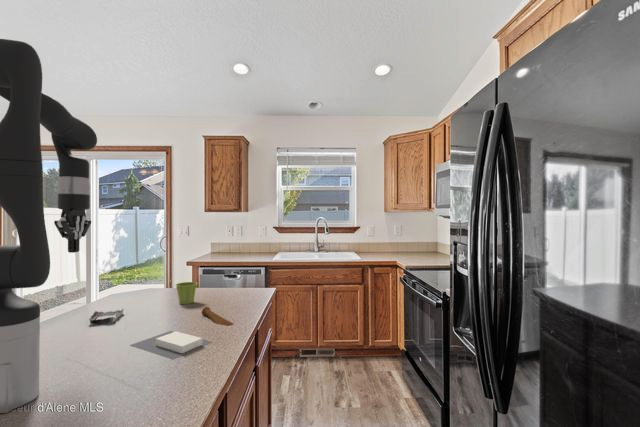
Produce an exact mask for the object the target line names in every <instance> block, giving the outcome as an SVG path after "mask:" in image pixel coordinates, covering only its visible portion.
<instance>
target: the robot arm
mask: <svg viewBox="0 0 640 427" xmlns="http://www.w3.org/2000/svg"><path fill="white" fill-rule="evenodd" d="M42 67H43V66H42V62H41V58H40V55H39V54H38V51H36V48H34V47H33V46H32V45H31V44H29V43H27V42H25V41H20V40H14V39H6V38H0V97H1V98H4V99H5V100H7V101H8V102H9V104H8V107H7V110H6V113H5V114H4V116H3V118H2V119H1V121H0V207H1V208H2V209H3V210H4V211H5V213H6V214H7V216H8V217H10V219H11V221H12V222H13V224H14V226H15V228H16V232H17V237H18V241H19V244H17V245H16V244H13V245H11V244H10V245H7V244H6V245H4V244H3V245H1V244H0V414H8V413H9V412H11V411H12V410H14V409H16V408H20V407H23V406H24V405H26V404H29V403H30V402H32V401H33V400H35V399H36V398H37V397H38V396H39V395H40V357H41V356H40V354H41V353H40V352H41V351H40V349H41V348H40V344H41V343H40V340H41V338H40V335H41V332H40V331H41V306H40V303H38V302H36V301H33V300H30V299H25V298H23V297H21V296H19V295H17V294H16V293H15V292H14V291H13V289H25V288H26V289H27V288H28V289H29V288H37V287H40V286H43V285H44V284H45V283H46V282H47V280H48V278H49V275H50V270H51V252H50V247H49V240H48V235H47V228H46V220H45V210H44V209H45V208H44V188H43V187H44V171H43V156H42V144H41V126H42V127H43V128H44V129H46V130H47V131H48V132H49V133H51V140H52V143H53V147H54V150H55V152H56V156H57V159H58V164H59V165H58V167H59V168H58V182H57V183H58V184H57V209H58V210H61V213H60V219H58V220H54V221H53V223H54V225H55V227H56V228H57V231H58V232H59V234H60V236H61V238H64V239H66V240H67V252H68V253H74V254H75V253H79V251H80V240H81V239H82V238H83V237H85V236H86V235H87V232H88V231H89V228H90V226H91V224H92V220H91V219H89V220H88V219H87V213H86V210H89V209H91V208H90V207H91V186H90V185H91V184H90V163H89V161H88V160H87V159H86V158H83V157H78V156H74V155H73V153H72V151H71V150H73V151H75V150H76V151H90V150H92V149H94V148H95V147H96V146H97V143H98V137H97V133H96V132H95V131H94V129H93V128H92V127H91V126H90V125H88V124H87V123H85V122H84V121H82V120H81V119H79V118H77V117H76V116H73V115H72V114H71V113H70V111H69V110H68V109H67V108H66V107H65V106H64V104H62V103H61V102H60V101H58V100H57V99H55V98H54V97H52V96H50V95H48V94H46V92H45V93H44V92H43V68H42Z"/></svg>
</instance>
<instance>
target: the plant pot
mask: <svg viewBox="0 0 640 427" xmlns="http://www.w3.org/2000/svg"><path fill="white" fill-rule="evenodd" d="M197 285H198V282H197V281H196V282H194V281H184V282H179V283H175V288H176V290H177V298H178V304H180V305H190V304H194V302H195V294H196V290H197Z"/></svg>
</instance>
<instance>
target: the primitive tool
mask: <svg viewBox="0 0 640 427" xmlns="http://www.w3.org/2000/svg"><path fill="white" fill-rule="evenodd" d="M201 315H203V316H206V317H208V318H209V319H210V320H211V322H213V323H214V324H215V325H221V326H226V327H229V326H232V325H234V323H233V322H232V321H229V320H227V319H226V318H224V317H221V316H220V315H219V314H218V313H215V312H213V311H212V310H211V308H210V307H209V306H208V307H207V306H205V307H204V308H202V310H201Z"/></svg>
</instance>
